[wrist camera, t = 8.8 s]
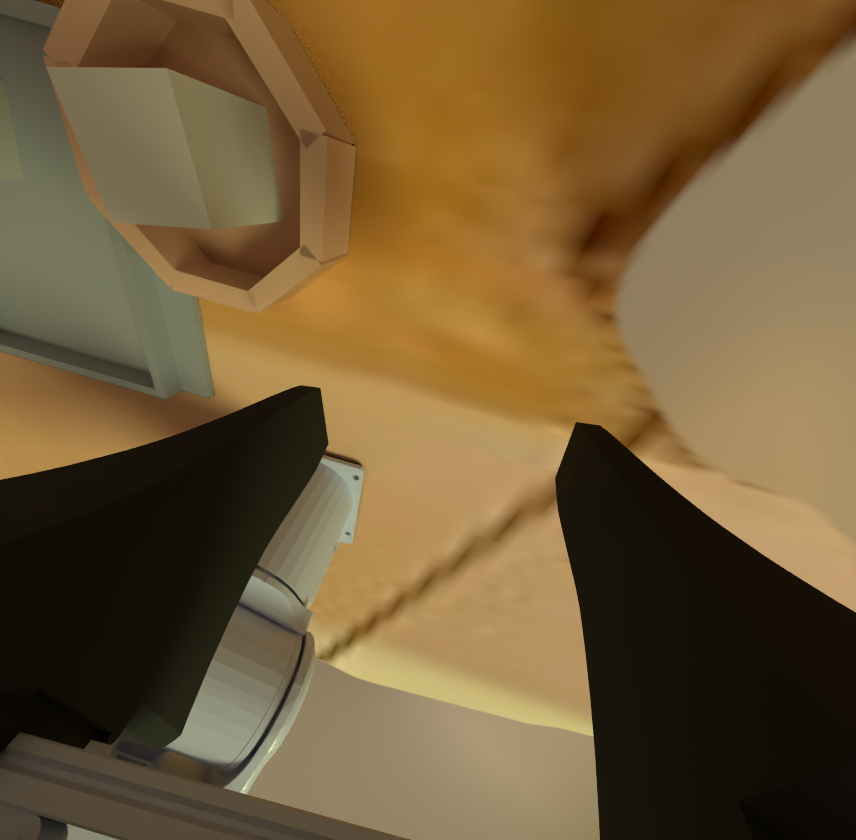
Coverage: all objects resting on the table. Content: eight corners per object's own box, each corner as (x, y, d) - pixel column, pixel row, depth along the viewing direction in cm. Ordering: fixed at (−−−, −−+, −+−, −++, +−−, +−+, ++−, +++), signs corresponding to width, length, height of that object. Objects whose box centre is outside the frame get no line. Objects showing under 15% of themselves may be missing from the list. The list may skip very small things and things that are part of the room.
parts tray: (214, 395, 23) (195, 408, 22) (-20, 326, 23) (-55, 335, 22) (153, 41, 13) (111, 22, 12) (-250, -74, 14) (-340, -106, 12)
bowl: (342, 314, 19) (319, 332, 16) (160, 261, 19) (109, 271, 16) (364, 39, 12) (332, 0, 10) (94, -38, 13) (-4, -95, 10)
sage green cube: (285, 221, 16) (211, 229, 12) (208, 216, 16) (111, 222, 12) (265, 107, 14) (166, 68, 9) (177, 105, 14) (45, 66, 10)
